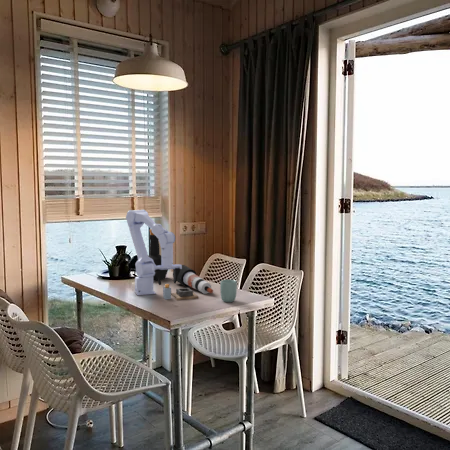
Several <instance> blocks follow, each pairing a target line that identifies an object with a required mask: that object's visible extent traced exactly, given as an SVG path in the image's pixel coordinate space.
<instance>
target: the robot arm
mask: <svg viewBox="0 0 450 450" xmlns="http://www.w3.org/2000/svg"><path fill="white" fill-rule="evenodd" d="M125 220H126V222H127V227H128V228H129V233H130V236H131V239H132V244H133V247H134V249H135V253H136V256H137V260H136V262H135V264H134V265H135V273H136V276H135V277H134V293H135V294H136V295H137V296H145V295H154V294H155V295H156V292H155V291H154V281H153V276H155V274H156V276H157V279H158V280H157V282H158V285H161V286H162V280H161V272H160V270H167V269H168V270H172V275H173V274H174V278H173V280H172V281H173V284H177V281H176V280H177V277H178V275H179V273H180V269H182V265H183V264H174V248H173V247H174V243H175V242H176V236H175V234H174V232H172V231H168V230H167V229H166V228H164V226H163V225H162V224H161V223H156V222H155V221H154V220H153V218H151V217H150V215H149V212H148V211H147V210H145V209H134V210H133V209H129V210H128V211H127V212H126V215H125ZM144 224H145V226H146V227H148V228H150V229H151V231H152V233H153V234H154V235H155V236H156V237H157V238H158V239H159V240H158V241H159V248H160V249H161V250H160V255H161V265H158V266H156V265H155V263H154V261H153V259H151V258H150V257H148V256H149V254H148V250H147V247H146V244H145V241H144V237H143V235H142V231H141V227H143V226H144Z"/></svg>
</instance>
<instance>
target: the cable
mask: <svg viewBox="0 0 450 450" xmlns="http://www.w3.org/2000/svg"><path fill="white" fill-rule="evenodd" d="M181 265H182V269H180V273H179V275H178V277H177V280H176V283H179V284H180V285H182V286H183V287H184V288H192V289H193V290H196V291H198V292H200V293H202V294H204V295H206V294H212V293H214V290H213V289H212V285H211V284H210V282H208V281H206V280H205V279H203V278H202V277H201V276H199V275H197V272H196V271H195V270H193V269H192V268H191V267H188V266H187V265H184V264H181ZM172 277H173V279H174V274H173V273H172Z"/></svg>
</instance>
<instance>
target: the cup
mask: <svg viewBox="0 0 450 450" xmlns="http://www.w3.org/2000/svg"><path fill="white" fill-rule="evenodd" d="M219 285H220V288H219V289H220V290H219V291H220V292H219V293H220V299H221V301H222V302H225V303H233V302H234V301H235V300H236V297H237V291H238V288H237V286H238V283H237V280H235V279H221V280H220V284H219Z"/></svg>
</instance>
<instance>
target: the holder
mask: <svg viewBox="0 0 450 450" xmlns="http://www.w3.org/2000/svg"><path fill="white" fill-rule="evenodd" d="M171 297H173V298H174V299H175V300H176V301H181V300H183V301H184V300H194V299H199V296H198V295H197V294H196V293H194V290H192V289H191V287H181V288H180V287H179V288H176V289H175V292H171Z"/></svg>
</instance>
